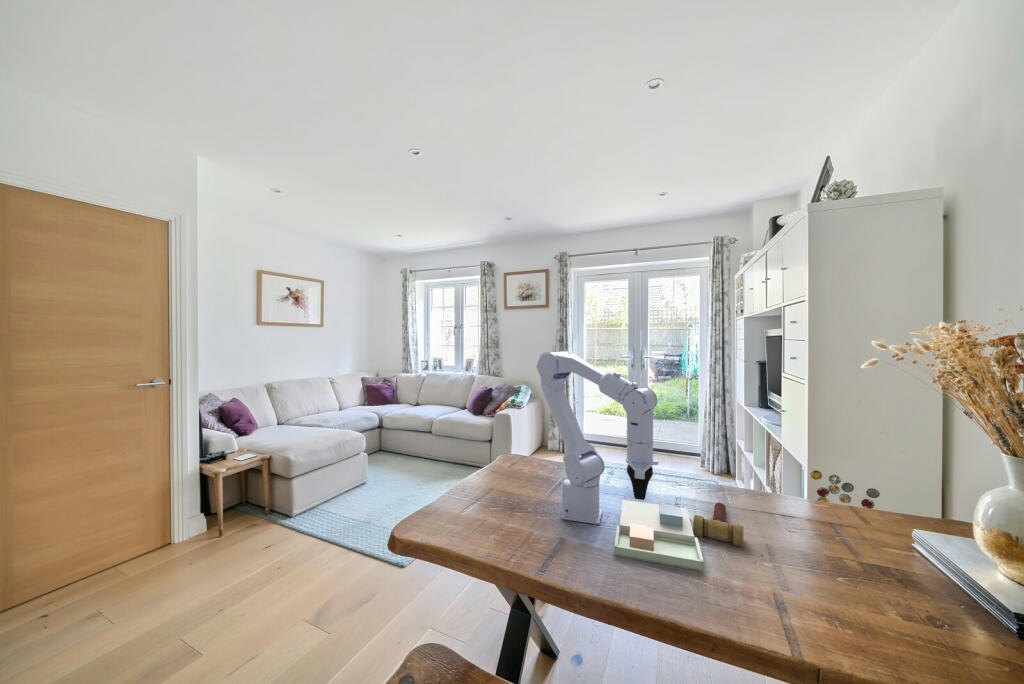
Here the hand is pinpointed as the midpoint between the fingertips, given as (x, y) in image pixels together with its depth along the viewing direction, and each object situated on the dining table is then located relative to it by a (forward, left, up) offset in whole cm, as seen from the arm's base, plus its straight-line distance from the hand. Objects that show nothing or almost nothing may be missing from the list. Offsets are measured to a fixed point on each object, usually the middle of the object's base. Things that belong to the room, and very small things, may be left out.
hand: (639, 498), depth 86 cm
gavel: (+19, +13, -10) cm, 25 cm away
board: (+4, +7, -9) cm, 12 cm away
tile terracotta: (0, -3, -9) cm, 9 cm away
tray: (+4, -4, -9) cm, 11 cm away
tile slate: (+7, +6, -7) cm, 12 cm away
